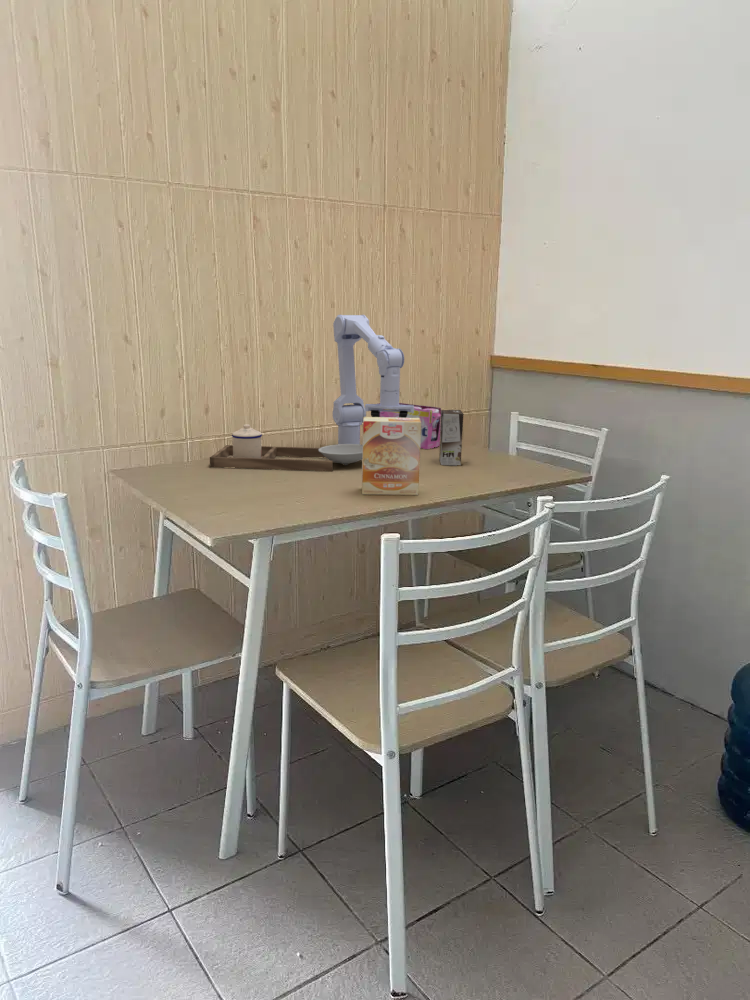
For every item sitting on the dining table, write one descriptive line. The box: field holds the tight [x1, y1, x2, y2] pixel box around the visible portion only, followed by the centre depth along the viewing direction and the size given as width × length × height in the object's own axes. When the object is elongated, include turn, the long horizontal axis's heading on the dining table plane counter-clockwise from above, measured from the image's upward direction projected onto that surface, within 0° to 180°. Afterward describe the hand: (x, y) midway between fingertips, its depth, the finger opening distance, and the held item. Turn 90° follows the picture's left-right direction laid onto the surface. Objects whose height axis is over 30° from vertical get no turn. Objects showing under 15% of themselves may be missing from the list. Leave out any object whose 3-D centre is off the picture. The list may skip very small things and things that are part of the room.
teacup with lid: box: [231, 423, 263, 458], centre depth 230 cm, size 12×9×12 cm
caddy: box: [209, 444, 334, 472], centre depth 230 cm, size 19×36×3 cm, turn 86°
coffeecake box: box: [361, 416, 421, 496], centre depth 196 cm, size 15×7×20 cm, turn 91°
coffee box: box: [438, 409, 464, 466], centre depth 233 cm, size 9×6×16 cm
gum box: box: [377, 402, 442, 450], centre depth 262 cm, size 24×8×14 cm, turn 51°
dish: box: [318, 443, 363, 466], centre depth 229 cm, size 18×14×5 cm
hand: (388, 435), depth 226 cm, fingers open, 6 cm apart
